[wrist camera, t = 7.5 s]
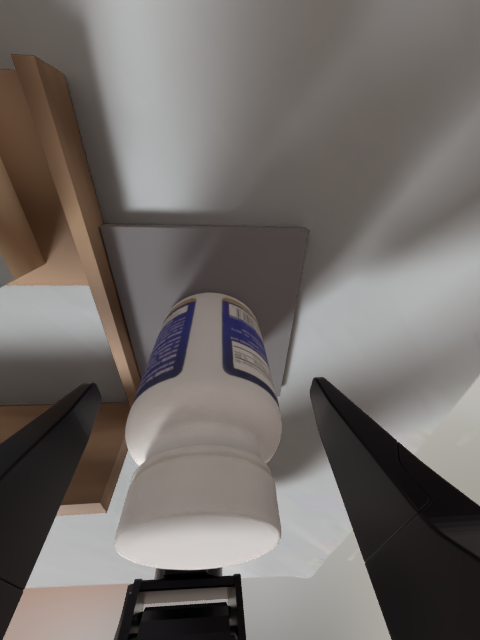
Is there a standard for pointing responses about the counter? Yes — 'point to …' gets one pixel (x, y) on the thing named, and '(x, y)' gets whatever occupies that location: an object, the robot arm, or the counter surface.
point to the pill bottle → (203, 443)
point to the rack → (65, 254)
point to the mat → (207, 277)
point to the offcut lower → (16, 232)
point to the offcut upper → (4, 273)
